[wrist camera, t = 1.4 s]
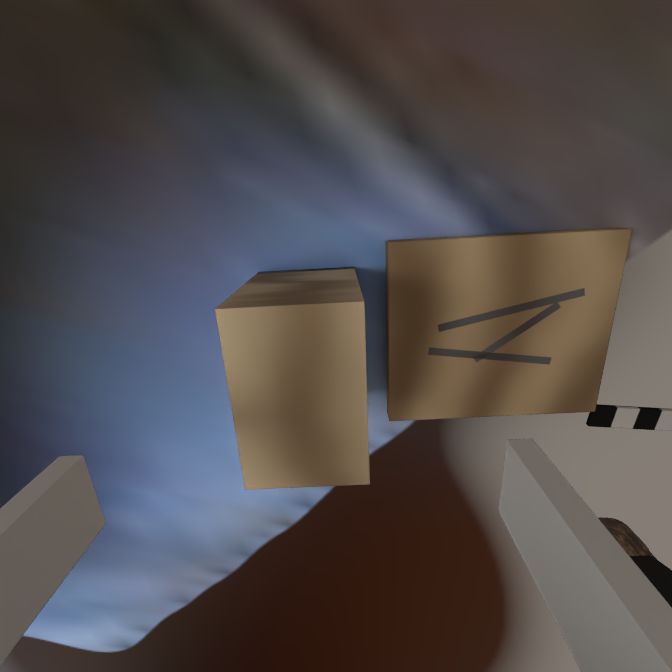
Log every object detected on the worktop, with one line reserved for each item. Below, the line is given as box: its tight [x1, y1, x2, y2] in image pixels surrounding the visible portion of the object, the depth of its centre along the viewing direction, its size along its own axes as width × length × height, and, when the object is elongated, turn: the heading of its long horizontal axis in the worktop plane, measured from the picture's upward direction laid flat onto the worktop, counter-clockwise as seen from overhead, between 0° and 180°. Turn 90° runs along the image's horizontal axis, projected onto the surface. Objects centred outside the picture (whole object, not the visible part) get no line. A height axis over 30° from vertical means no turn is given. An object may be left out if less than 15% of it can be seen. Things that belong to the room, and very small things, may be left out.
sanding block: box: [215, 267, 370, 490], centre depth 20 cm, size 6×9×9 cm, turn 3°
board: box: [386, 228, 632, 421], centre depth 24 cm, size 14×12×1 cm
